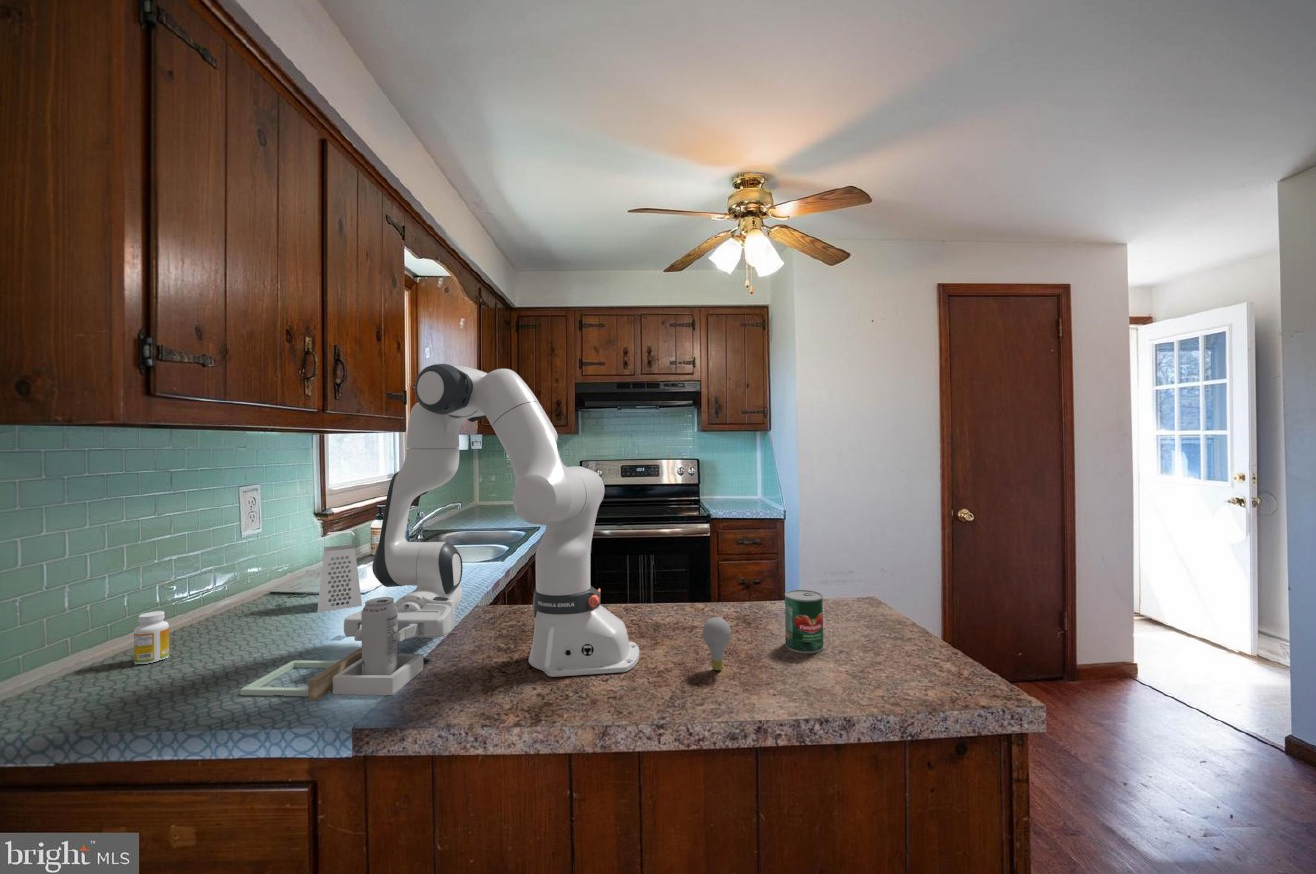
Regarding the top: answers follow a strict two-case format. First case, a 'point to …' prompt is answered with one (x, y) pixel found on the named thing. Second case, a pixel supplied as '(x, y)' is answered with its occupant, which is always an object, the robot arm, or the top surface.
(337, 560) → the grater
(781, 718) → the top surface
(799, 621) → the canned tomato
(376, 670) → the energy drink can
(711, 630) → the light bulb
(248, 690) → the socket
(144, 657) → the supplement bottle
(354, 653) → the rail
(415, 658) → the socket
